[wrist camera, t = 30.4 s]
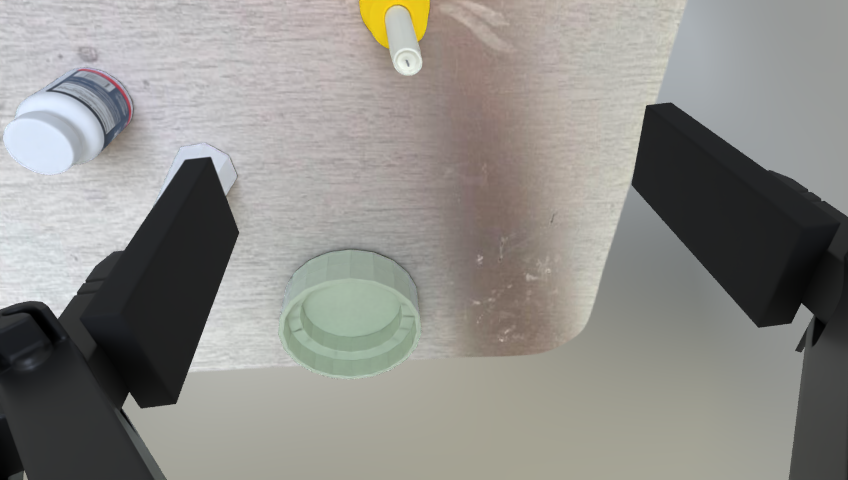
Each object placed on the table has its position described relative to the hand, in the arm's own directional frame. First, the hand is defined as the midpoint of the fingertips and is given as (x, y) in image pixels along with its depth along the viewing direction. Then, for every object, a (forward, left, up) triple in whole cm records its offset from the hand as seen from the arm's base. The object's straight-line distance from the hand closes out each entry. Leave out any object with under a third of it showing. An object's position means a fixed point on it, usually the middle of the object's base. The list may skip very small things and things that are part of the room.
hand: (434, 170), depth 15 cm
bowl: (+8, +28, -27) cm, 40 cm away
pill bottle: (+24, +4, -27) cm, 36 cm away
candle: (0, 0, -27) cm, 27 cm away
